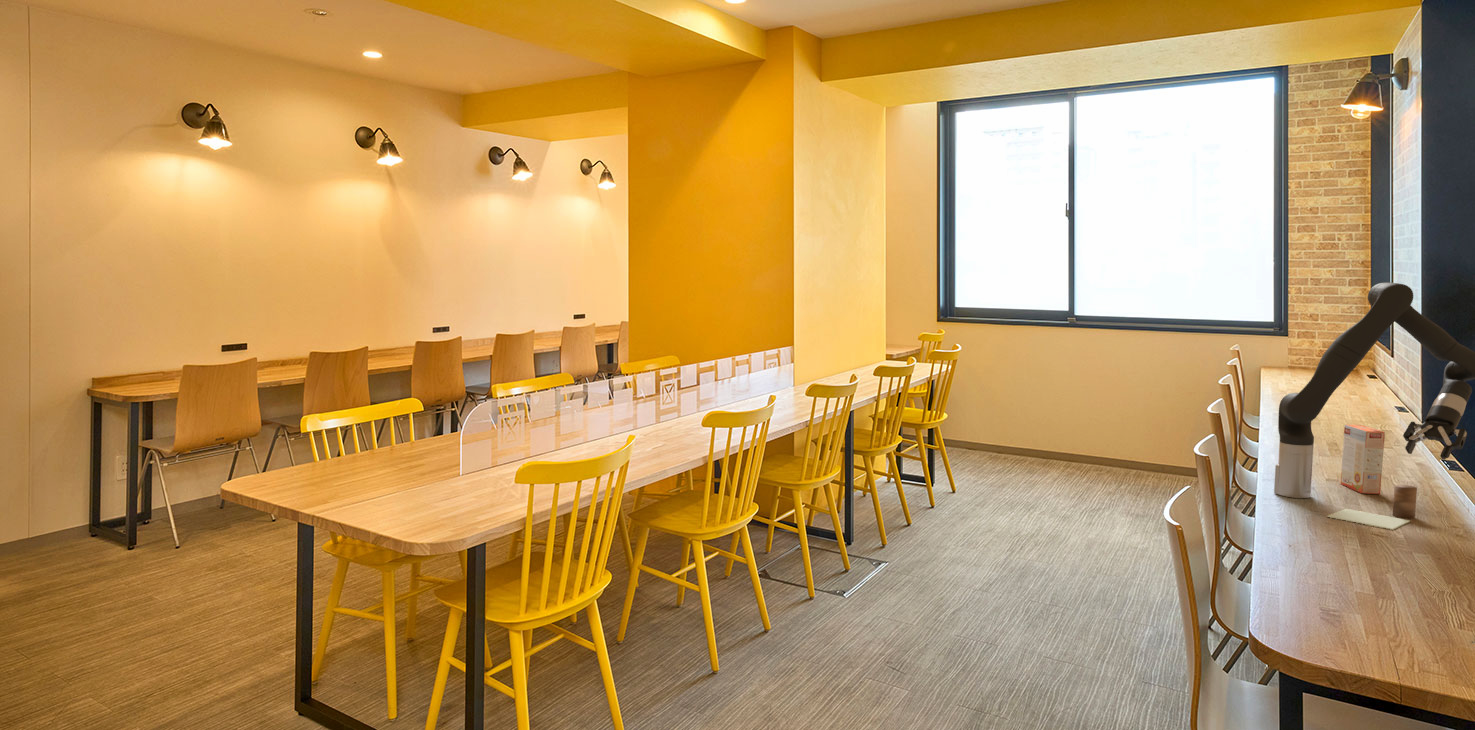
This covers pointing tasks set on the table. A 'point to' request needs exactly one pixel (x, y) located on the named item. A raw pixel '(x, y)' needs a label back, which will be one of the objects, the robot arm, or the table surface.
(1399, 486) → the walnut cylinder
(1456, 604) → the table surface
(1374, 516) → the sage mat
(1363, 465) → the cracker box
